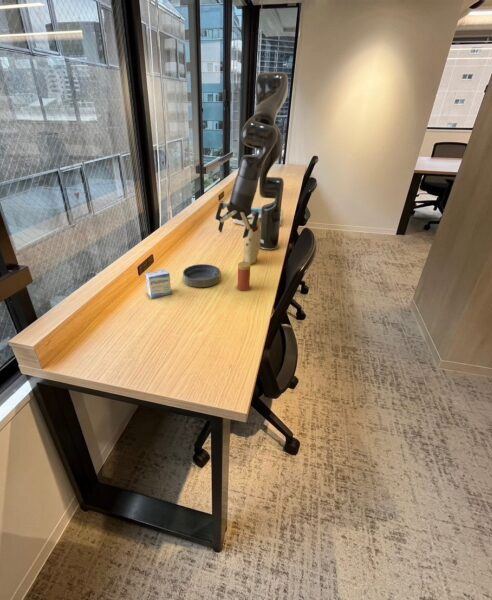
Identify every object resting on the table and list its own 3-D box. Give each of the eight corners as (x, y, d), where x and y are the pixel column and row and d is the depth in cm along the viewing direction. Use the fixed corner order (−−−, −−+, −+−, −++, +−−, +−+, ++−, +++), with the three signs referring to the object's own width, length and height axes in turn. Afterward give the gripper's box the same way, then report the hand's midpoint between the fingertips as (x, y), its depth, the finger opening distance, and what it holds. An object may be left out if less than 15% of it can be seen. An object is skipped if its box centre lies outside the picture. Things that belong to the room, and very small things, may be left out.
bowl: (182, 273, 138) (181, 265, 137) (217, 270, 141) (217, 263, 139) (184, 289, 126) (184, 281, 124) (223, 286, 128) (223, 278, 126)
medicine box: (151, 299, 120) (148, 277, 115) (147, 293, 123) (144, 272, 119) (171, 294, 123) (169, 273, 118) (167, 289, 126) (165, 268, 122)
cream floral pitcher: (254, 267, 144) (257, 222, 134) (240, 264, 146) (241, 220, 136) (261, 258, 151) (263, 215, 141) (247, 256, 154) (249, 214, 143)
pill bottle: (236, 285, 128) (236, 262, 123) (247, 284, 129) (248, 261, 124) (238, 291, 125) (239, 267, 119) (250, 290, 125) (251, 266, 120)
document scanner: (280, 228, 190) (281, 217, 187) (232, 225, 195) (233, 214, 192) (282, 217, 208) (283, 207, 205) (239, 215, 213) (239, 205, 210)
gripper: (264, 191, 111) (251, 234, 120) (223, 181, 109) (213, 225, 119) (265, 199, 105) (251, 243, 114) (222, 187, 103) (211, 234, 113)
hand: (232, 234), depth 116 cm, fingers open, 8 cm apart
